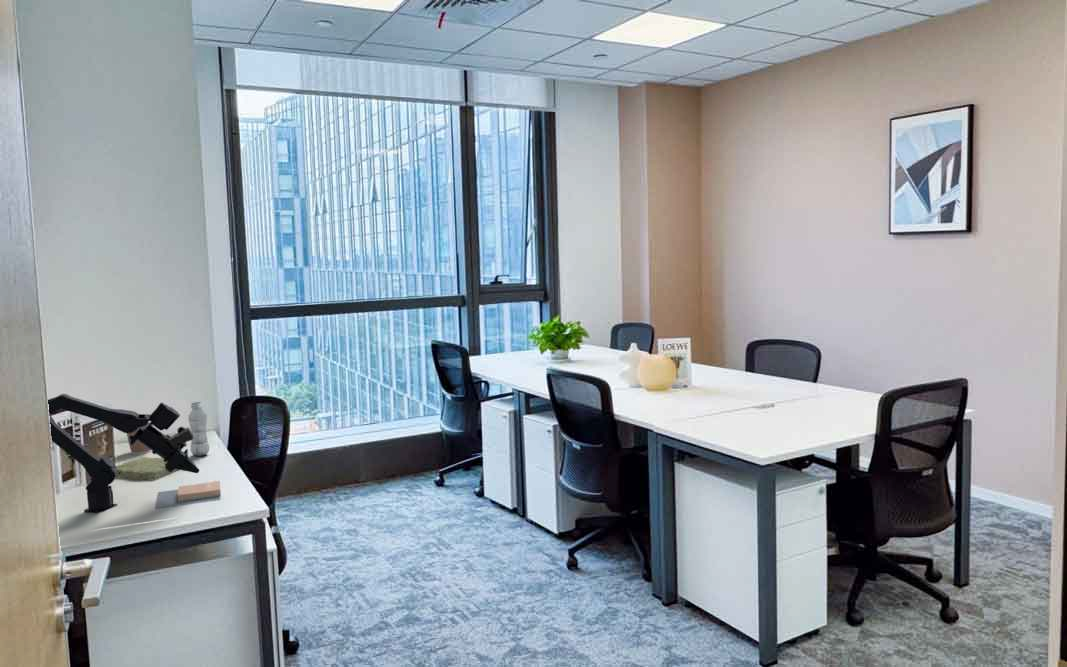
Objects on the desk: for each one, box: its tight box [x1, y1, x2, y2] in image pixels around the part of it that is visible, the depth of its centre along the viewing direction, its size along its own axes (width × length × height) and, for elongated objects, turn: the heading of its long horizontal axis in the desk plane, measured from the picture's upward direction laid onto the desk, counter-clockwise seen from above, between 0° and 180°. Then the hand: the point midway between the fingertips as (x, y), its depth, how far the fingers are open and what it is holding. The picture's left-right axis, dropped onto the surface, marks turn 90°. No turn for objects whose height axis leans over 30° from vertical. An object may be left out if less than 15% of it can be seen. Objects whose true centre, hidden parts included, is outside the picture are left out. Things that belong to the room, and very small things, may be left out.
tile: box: [177, 481, 222, 502], centre depth 244 cm, size 2×10×12 cm
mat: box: [154, 489, 221, 510], centre depth 243 cm, size 18×18×1 cm
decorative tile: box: [116, 456, 179, 480], centre depth 273 cm, size 19×20×4 cm
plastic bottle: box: [187, 401, 210, 457], centre depth 293 cm, size 6×7×20 cm
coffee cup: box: [126, 421, 154, 455], centre depth 302 cm, size 10×10×12 cm
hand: (198, 471), depth 243 cm, fingers closed
